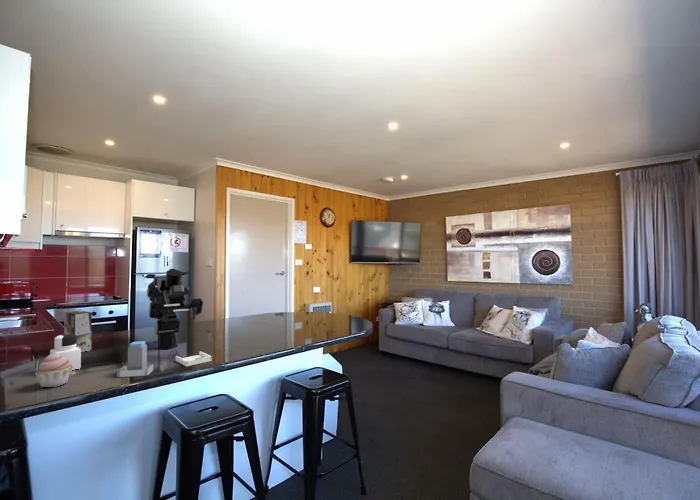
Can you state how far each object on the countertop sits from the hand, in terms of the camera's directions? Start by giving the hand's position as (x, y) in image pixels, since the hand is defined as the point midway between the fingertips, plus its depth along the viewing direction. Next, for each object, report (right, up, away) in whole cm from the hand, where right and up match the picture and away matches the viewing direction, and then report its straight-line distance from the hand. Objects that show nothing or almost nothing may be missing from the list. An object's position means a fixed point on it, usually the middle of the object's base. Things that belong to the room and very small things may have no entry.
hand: (181, 320), depth 135 cm
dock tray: (+4, -15, +1) cm, 16 cm away
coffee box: (-49, -16, +13) cm, 53 cm away
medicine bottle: (-35, -15, -10) cm, 40 cm away
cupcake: (-27, -15, -25) cm, 40 cm away
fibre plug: (-9, -15, -13) cm, 22 cm away
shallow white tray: (-9, -15, -14) cm, 22 cm away
